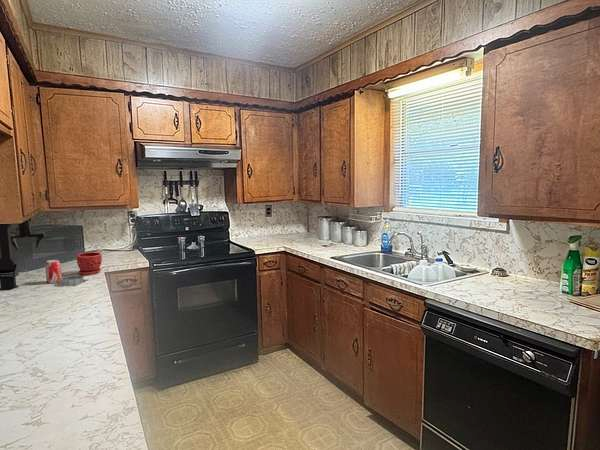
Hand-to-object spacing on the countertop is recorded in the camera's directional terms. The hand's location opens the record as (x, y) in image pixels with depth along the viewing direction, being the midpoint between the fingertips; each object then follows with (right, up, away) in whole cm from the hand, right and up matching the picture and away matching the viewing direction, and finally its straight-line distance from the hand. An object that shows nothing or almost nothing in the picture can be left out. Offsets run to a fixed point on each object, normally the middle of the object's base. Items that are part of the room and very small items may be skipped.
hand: (27, 249), depth 218 cm
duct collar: (+37, -17, -17) cm, 45 cm away
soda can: (+26, -17, -15) cm, 35 cm away
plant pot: (+35, -15, +4) cm, 38 cm away
